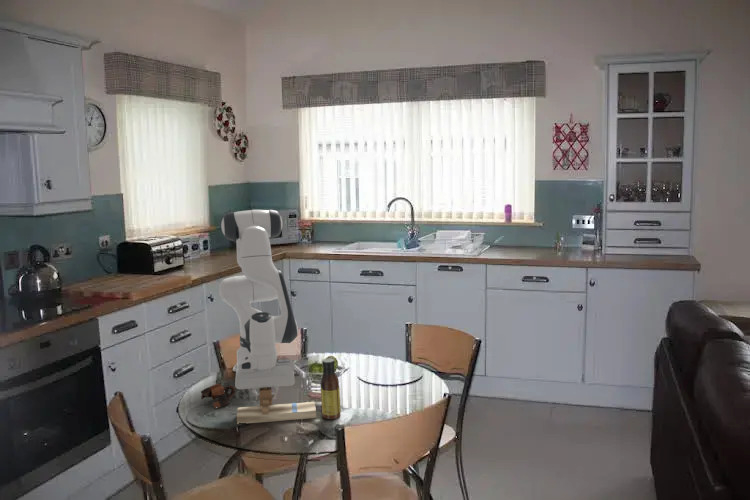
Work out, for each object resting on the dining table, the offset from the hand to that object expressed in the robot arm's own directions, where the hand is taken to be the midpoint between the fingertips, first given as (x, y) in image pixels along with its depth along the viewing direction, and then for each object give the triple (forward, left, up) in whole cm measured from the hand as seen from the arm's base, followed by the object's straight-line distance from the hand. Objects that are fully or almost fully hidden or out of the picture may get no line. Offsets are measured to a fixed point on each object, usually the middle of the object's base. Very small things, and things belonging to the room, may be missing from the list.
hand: (265, 398), depth 235 cm
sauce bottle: (+11, +21, -4) cm, 25 cm away
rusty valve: (-9, -17, -4) cm, 19 cm away
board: (+7, +3, -4) cm, 9 cm away
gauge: (+5, 0, -3) cm, 6 cm away
